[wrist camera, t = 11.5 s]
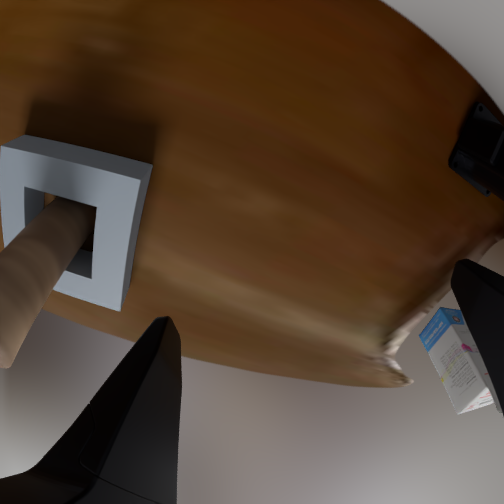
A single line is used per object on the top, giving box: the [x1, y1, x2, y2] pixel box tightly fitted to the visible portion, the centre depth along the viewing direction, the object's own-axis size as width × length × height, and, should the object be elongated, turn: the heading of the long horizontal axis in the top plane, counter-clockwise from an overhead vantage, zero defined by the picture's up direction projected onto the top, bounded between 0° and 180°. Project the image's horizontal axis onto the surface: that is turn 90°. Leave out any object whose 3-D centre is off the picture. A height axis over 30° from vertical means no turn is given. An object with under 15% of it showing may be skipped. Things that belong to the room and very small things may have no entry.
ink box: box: [419, 307, 502, 414], centre depth 24 cm, size 8×5×15 cm, turn 74°
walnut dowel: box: [0, 196, 96, 368], centre depth 14 cm, size 4×4×13 cm
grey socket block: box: [0, 135, 153, 311], centre depth 19 cm, size 11×11×3 cm
